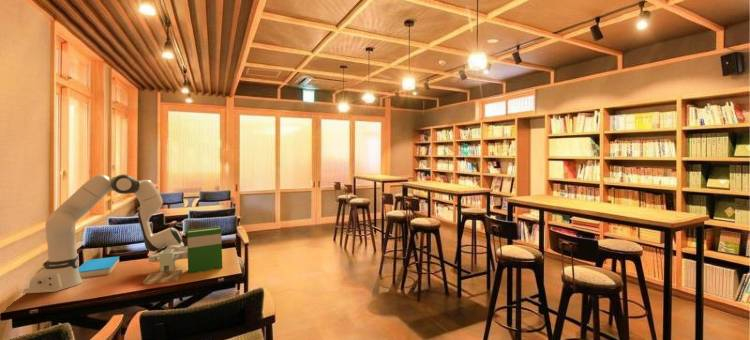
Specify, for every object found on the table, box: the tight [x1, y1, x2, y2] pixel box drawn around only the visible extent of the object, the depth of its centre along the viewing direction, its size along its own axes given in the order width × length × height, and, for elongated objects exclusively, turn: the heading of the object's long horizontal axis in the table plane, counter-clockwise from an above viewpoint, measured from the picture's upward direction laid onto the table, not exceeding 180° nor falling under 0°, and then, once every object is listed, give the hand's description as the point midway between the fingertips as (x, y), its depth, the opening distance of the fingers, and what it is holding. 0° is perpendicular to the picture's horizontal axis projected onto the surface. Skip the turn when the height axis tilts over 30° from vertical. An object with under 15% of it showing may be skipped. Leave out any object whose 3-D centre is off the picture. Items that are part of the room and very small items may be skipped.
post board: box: [142, 265, 183, 286], centre depth 187 cm, size 16×14×8 cm
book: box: [78, 256, 121, 279], centre depth 202 cm, size 17×4×25 cm
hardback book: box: [186, 226, 223, 275], centre depth 201 cm, size 18×7×24 cm, turn 122°
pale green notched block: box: [159, 249, 176, 272], centre depth 187 cm, size 6×6×10 cm
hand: (166, 260), depth 187 cm, fingers closed on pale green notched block, 6 cm apart
